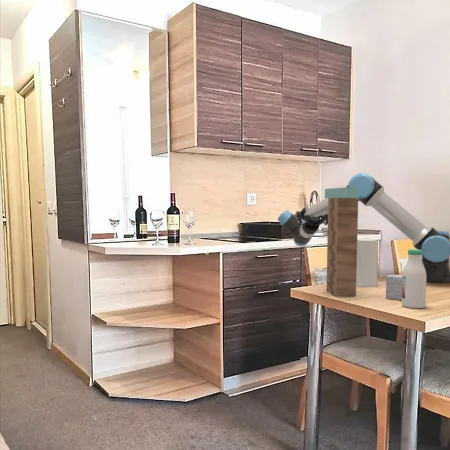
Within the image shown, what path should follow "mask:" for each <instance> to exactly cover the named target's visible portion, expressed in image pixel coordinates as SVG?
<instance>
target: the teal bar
mask: <svg viewBox="0 0 450 450" xmlns="http://www.w3.org/2000/svg"><path fill="white" fill-rule="evenodd" d="M326 198H357V187H346V186H345V187H334V188H333V187H331V188H325V189H324V199H326Z"/></svg>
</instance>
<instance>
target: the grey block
mask: <svg viewBox="0 0 450 450" xmlns="http://www.w3.org/2000/svg"><path fill="white" fill-rule="evenodd" d="M378 258H379V240H377V239H370V238H357V273H356V287H360V288H372V287H374V288H375V287H378V261H379V259H378Z"/></svg>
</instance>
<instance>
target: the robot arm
mask: <svg viewBox="0 0 450 450" xmlns="http://www.w3.org/2000/svg"><path fill="white" fill-rule="evenodd" d="M345 187H357V198H358V202H360V203H362V204H363V205H364V206H365V207H371V208H372V209H374V210H375V211H376V212H378V213H379V214H380V215H381V216H382V217H383V218H385V219H386V220H387V221H388V222H389V223H390V224H391V225H393V226H394V227H395V228H396V229H398V230H399V231H400V232H401V233H402V234H403V235H405V236H406V237H407V238H408V239H410V240H411V242H412V247H413V248H414V249H418V250H422V257H421V259H422V263H423V265H424V268H425V270H426V282H430V283H450V264H449V263H450V232H449V231H443V230H437V229H435V228H434V227H433V226H426V225H425V224H424V223H423V222H421V221H420V220H419V219H418V218H416V217H415V216H414V215H413V214H411V213H410V212H409V211H408V210H406V209H405V208H404V207H403V206H402V205H400V204H399V203H398V202H397V201H395V200H394V199H393V198H392V197H391V196H390V195H389V194H387V193H386V192H385V189H384V186H382V184H381V183H379V181H377V180H376V179H375V178H374V177H372V176H371V175H370V174H368V173H366V172H359V173H357V174H355V175H353V176H352V177H351V178H350V180H349V182H348V184H347V185H346V186H345ZM277 221H278V222H279V224H280V225H281V226H282V227H283V228H284V229H285V230H286V231H288V232H289V233H290V235H291V236H292V238H293V243H294V244H295V245H296V246H298V247H305V246H307V244H308V243H309V242H311V239H312V238H313V237H314V235H315V234H316V233H317V231H318V229H319V228H320V226H321V225H322V224H323V225H324V226H328V198H324V199H322V200H320V201H319V202H316V203H314V204H312V205H311V204H310V202H308V203H306V205H305V207H303V208H302V209H301V210H300V211H296V212H295V213H292V212H291V211H289V210H287V209H286V210H284V211H283V212H282V213H280V214H279V216H278V218H277Z"/></svg>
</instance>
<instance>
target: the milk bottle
mask: <svg viewBox="0 0 450 450" xmlns="http://www.w3.org/2000/svg"><path fill="white" fill-rule="evenodd" d="M407 256H408V259H407V261H406V264H405V265H404V267H403V270H402V276H403V279H402V300H401V305H402V306H403V307H406V308H411V309H425V308H426V305H427V303H426V302H427V281H426V270H425V268H424V265H423V263H422V250H418V249H416V248H414V249H413V248H411V249H408V250H407Z"/></svg>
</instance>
